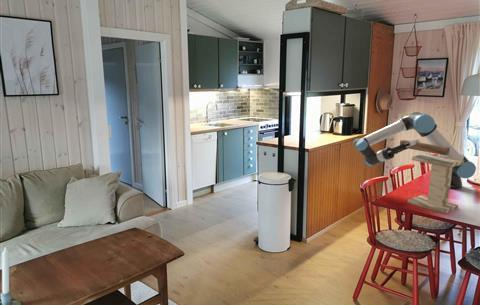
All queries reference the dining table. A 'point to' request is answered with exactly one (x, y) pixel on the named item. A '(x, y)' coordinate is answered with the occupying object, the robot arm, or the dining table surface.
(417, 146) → the brown block
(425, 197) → the shelf stand
